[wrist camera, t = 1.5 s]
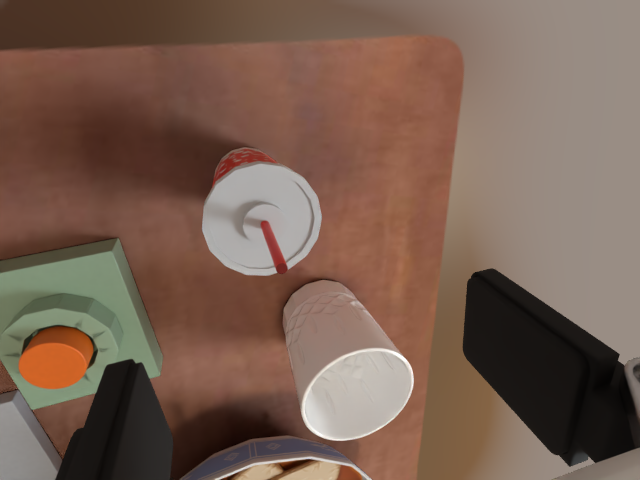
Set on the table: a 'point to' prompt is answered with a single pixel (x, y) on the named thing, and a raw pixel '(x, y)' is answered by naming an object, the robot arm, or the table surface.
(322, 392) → the white cup
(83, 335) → the button
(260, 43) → the table surface
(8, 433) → the coffee maker
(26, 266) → the brew pad
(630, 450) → the robot arm
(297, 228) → the beverage cup
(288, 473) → the ramen bowl
